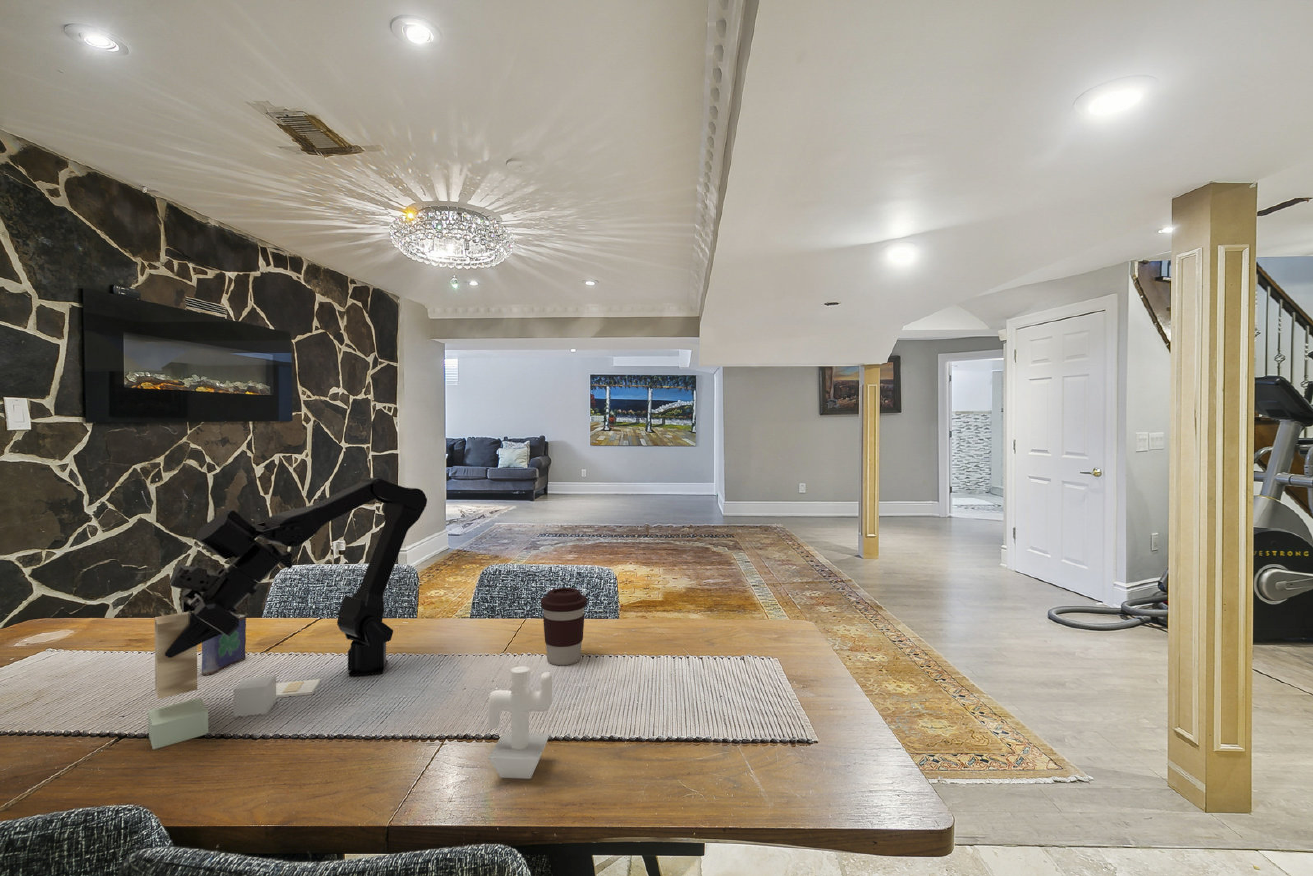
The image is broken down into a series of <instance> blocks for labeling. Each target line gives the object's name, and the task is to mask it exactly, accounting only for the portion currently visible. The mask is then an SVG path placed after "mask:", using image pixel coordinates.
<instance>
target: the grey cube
mask: <svg viewBox="0 0 1313 876" xmlns="http://www.w3.org/2000/svg"><path fill="white" fill-rule="evenodd" d="M276 683H277V675H276V674H271V675H262V676H253V677H244V678H243V680H241V682H239V683H238V684H237V686H236V687H235V688H233V718H239V717H238V716H243V717H249V716H248V715H252V716H258V715H257V714H261V715H267V714H268V712H269V711H271V709H272V708H273V706H275V704H276V703H277V698H276ZM271 707H272V708H271ZM255 714H256V715H255Z"/></svg>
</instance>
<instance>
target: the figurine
mask: <svg viewBox="0 0 1313 876" xmlns="http://www.w3.org/2000/svg"><path fill="white" fill-rule="evenodd" d="M530 680H531V668H530V667H529V666H523V665H522V666H516V667H512V668H511V669H510V689H509V690H507V689H505V690H504V689H496V690H493V691H492V692H490V694H489V697H488V701H487V726H488V728H489V729H490V730H495V729H497V728H498V727H499V726H500V722H501V711H509V712H510V716H511V717H510V718H511V719H510V720H511V721H510V725H511V726H510V731H503V733H502V734H501V736H500V737H499V739H498V740H497V742H496V743H495V746H494V747H493V748H492V749H491V752H490V753H489V755H488V756H487V759H488V760H489V762H490V763H491V765H492V766H493V768H494V769H495V771H496V772H497V774H498V775H499V777H500V778H502V779H525V780H526V779H527V780H529V779H532V777H533V775H534V773H535V770H536V768H537V765H538V764H539V762H540V760H541V757H542V754H543V751H544V750H545V747H546V744H547V742H548V740H549V737H550V734H551V733H548V732H530V712H547V711H549V710H550V708H551V706H552V701H553V676H552V673H551V672H549V671H544V672H543V673H542V674H541V676H540V681H539V682H540V683H539V684H540V688H539V690H531V689H530Z"/></svg>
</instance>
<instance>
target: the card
mask: <svg viewBox="0 0 1313 876" xmlns="http://www.w3.org/2000/svg"><path fill="white" fill-rule="evenodd" d="M321 682H322V679H321V678H317V679H308V680H298V681H286V682H278V683H277V682H276V699H278V698H280V699H281V698H289V696H291V697H300V696H311V695H313V694H314V692H315V691H316V689H317V688H318V687H319V685H320V684H321Z"/></svg>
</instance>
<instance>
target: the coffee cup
mask: <svg viewBox="0 0 1313 876" xmlns="http://www.w3.org/2000/svg"><path fill="white" fill-rule="evenodd" d="M587 599H588V598H587V596H586V595H584V594H582V593H581V591H580V589H577V588H573V587H558V588H557V587H556V588H553V589H550V590H549V591H548V592H547V595H545V596H543V597H542V598H541V599H540V608H541V609H542V610H543V616H542V617H543V618H542V621H543V633H544V635H543V636H544V643H545V647H546V649H545V650H546V660H547V661H548V663H550V664H552V665H555V666H569V665H572V664H573V665H574V664H575V663H577V662H579V661H580V660H581V657H582V642H583V640H584V627H585V608H586V606H587V605H588V600H587Z"/></svg>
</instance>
